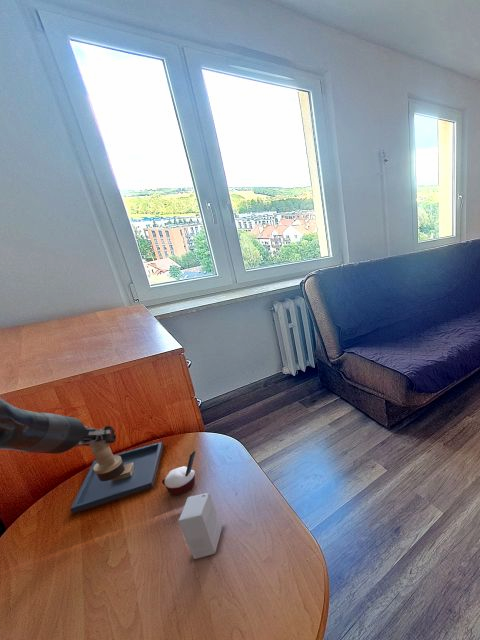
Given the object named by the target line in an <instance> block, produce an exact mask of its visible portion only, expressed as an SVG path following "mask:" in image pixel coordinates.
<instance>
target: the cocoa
mask: <svg viewBox="0 0 480 640" xmlns="http://www.w3.org/2000/svg"><path fill="white" fill-rule="evenodd" d="M195 456H196V451H195V450H193V451H192V453H190V455H189V458H188V463H187V466H185V465H183V466H179V467H177V468H173V469H171V470H170V471H169V472H168V473H167V475H166V476H165V478H163V479H162V481H161V484H162V485H163V486H165V488H166V490H167V491H168V493H169V494H170V495H173V496H181V495H183V494H185V493H188V492H189V491H191V490H192V488H193V487H194V485H195V481H196V474H195V471H196V470H194V469H192V467H193V464H194V459H195Z"/></svg>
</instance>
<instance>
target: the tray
mask: <svg viewBox="0 0 480 640" xmlns="http://www.w3.org/2000/svg"><path fill="white" fill-rule="evenodd" d="M163 449H164V443H163V441H159V442H155V443H152V444H148V445H144V446H141V447H137V448H133V449H130V450H127V451H122V452H120V453H115V454H113V456H115V455H118V456H120V457H121V459H122V463H123V465H126V464H129V463H133V464H134V466H135V467H134V470H133V473H132V476H130V477H127V478H124V479H120V480H117V481H114V482H112V480H109V481H100V480H99V479H98V476H97V474H96V473H95V472H94V469H93V468H94V466H95V465H96V464H97V460H96V459H94V460H93V461H92V463H91V466H90V468H89V469H88V472H87V474H86V476H85V478H84V480H83V482H82V484H81V486H80V488H79V490H78V492H77V494H76V496H75V498H74V500H73V502H72V504H71V506H70V511H71V513H72V514H75V513H79V512H82V511H84V510H88V509H91V508H94V507H97V506H99V505H103V504H105V503H106V504H107V503H108V502H112V501H115V500H118V499H122V498H124V497H128V496H130V495H134V494H137V493H140V492H142V491H145V490H148V489H152V488H154V486H155V481H156V477H157V473H158V469H159V465H160V461H161V457H162V453H163Z"/></svg>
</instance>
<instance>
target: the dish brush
mask: <svg viewBox="0 0 480 640" xmlns="http://www.w3.org/2000/svg"><path fill="white" fill-rule="evenodd" d="M99 429H100V430H102V429H103V428H99ZM99 439H100V436H99ZM88 447H90V450H91V452H92V454H93V456H94V458H95V460H97V464H96V465H95V466H94V468H93V469H94V472H95V473H96V474H97V476H98V479H99V480H100V481H109V480H112V479H114V478H116V477H118V476H119V475H121V474H122V473H123V472H124V470H125V467H124V465H123V463H122V459H121V457H120V456H118V455H115V454H113V451H112V449H111V447H110V444H108V443H97V444H91V445H89V446H88ZM113 455H115V456H113Z"/></svg>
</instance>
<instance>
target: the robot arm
mask: <svg viewBox="0 0 480 640" xmlns="http://www.w3.org/2000/svg"><path fill="white" fill-rule="evenodd" d="M100 429H102V430H100ZM115 431H116V430H115V428H114V427H113V426H111V425H106V426H104V427H102V428H96V427H90V426H87V425H85V424H84V423H83V421H81V420H80V419H78V418H76V417H74V416H73V417H72V416H67V415H61V414H57V413H51V412H40V411H39V412H38V411H33V410H26V409H22V408H19V407H17V406H15V405H12V404H10V403H9V402H7V401H6V400H5V399H3V398H2V397H0V450H11V451H18V452H22V453H35V454H36V453H37V454H51V455H52V454H53V455H57V454H63V453H65V452H68V451H70V450H72V449H73V448H78V447H83V446H86V447H90V446H89V445H91V444H97V443H108V445H110V444H111V445H112V444H115V442H116V438H117V434H115ZM99 436H100V439H99Z"/></svg>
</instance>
